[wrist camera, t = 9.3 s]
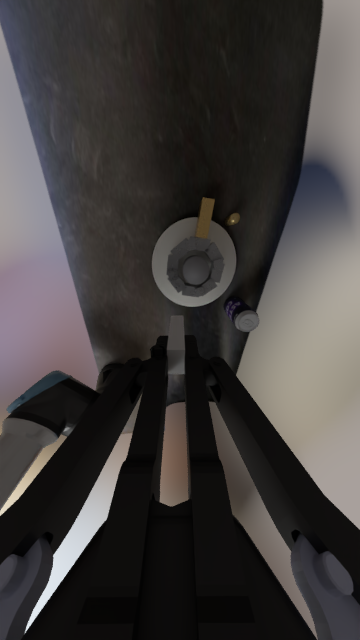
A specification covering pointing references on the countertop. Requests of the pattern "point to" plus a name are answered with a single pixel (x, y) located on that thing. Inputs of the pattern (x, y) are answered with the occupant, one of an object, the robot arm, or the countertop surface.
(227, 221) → the stop pin
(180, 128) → the countertop surface
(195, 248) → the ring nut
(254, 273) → the countertop surface
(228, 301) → the beverage can
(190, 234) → the housing
